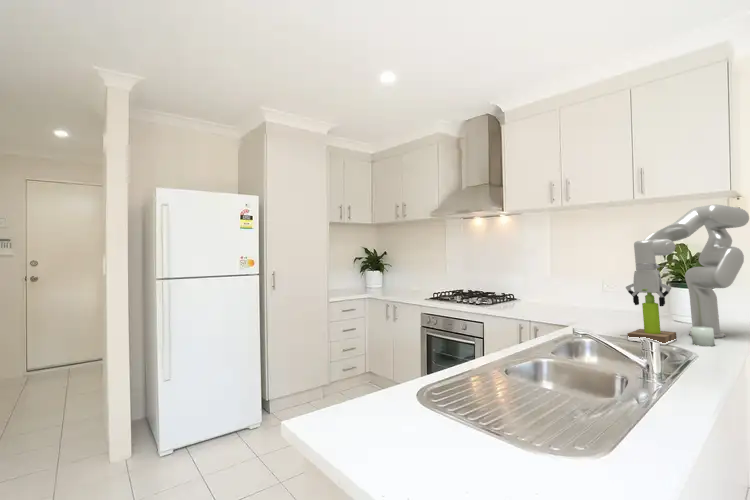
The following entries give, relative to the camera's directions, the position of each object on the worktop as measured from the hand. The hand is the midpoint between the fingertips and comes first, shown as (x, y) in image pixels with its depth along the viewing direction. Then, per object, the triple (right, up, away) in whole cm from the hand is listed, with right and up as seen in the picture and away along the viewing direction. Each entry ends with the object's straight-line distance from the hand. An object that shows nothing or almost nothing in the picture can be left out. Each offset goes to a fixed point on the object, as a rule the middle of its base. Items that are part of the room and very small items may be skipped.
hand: (649, 305), depth 170 cm
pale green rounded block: (+14, -15, -12) cm, 24 cm away
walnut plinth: (+1, -16, -1) cm, 16 cm away
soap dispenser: (+1, -12, 0) cm, 13 cm away
